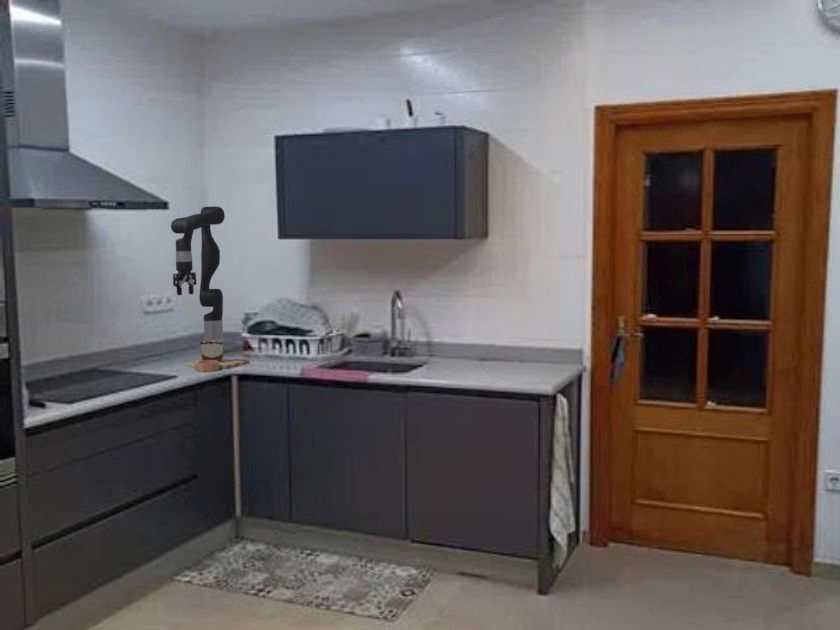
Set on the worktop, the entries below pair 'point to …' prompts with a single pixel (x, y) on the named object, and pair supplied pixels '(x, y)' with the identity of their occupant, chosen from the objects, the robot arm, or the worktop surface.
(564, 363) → the worktop surface
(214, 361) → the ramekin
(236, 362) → the board
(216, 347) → the food container
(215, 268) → the robot arm
